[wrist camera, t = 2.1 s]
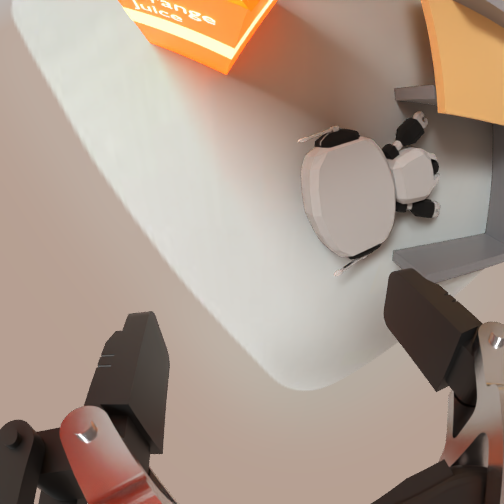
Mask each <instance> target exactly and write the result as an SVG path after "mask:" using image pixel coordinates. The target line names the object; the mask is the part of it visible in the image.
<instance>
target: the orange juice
mask: <svg viewBox="0 0 504 504" xmlns="http://www.w3.org/2000/svg"><path fill="white" fill-rule="evenodd" d="M118 1H119V2H120V3H121V5H122V6H123V7H122V8H123V9H124V10H125V12H126V13H127V14H128V16H129V17H130V18H131V19H132V20H133V21H134V22H135V23H136V25H137V26H138V27H139V29H140V30H141V32H142V33H143V34H144V36H145V37H146V38H147V40H148V41H149V42H150V43H152V44H155V45H158V46H160V47H163V48H166V49H168V50H171V51H173V52H176V53H178V54H181V55H183V56H186V57H188V58H190V59H193V60H195V61H197V62H199V63H202V64H204V65H206V66H208V67H211V68H213V69H215V70H217V71H219V72H221V73H223V74H225V75H227V74H228V72H229V70H230V69H231V67H232V66H233V64H234V62H235V61H236V59H237V58H238V56H239V55H240V53H241V52H242V50H243V49H244V47H245V46H246V44H247V43H248V41H249V40H250V38H251V37H252V35H253V34H254V32H255V31H256V30H257V28H258V27H259V25H260V24H261V22H262V21H263V20H264V18H265V17H266V16H267V14H268V13H269V11H270V10H271V9H272V7H273V6H274V5H275V3H276V2H277V0H118Z"/></svg>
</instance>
